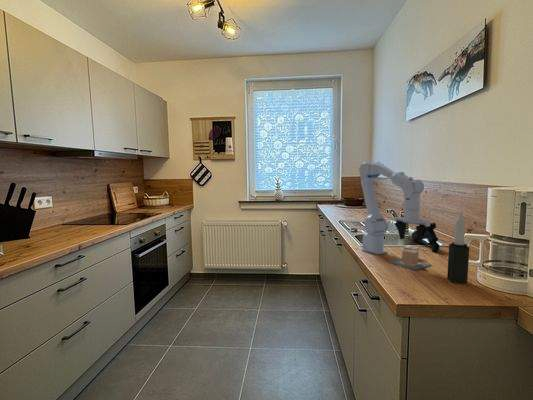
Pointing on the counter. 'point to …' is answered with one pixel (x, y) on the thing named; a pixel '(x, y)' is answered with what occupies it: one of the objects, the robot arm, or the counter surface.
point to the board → (414, 267)
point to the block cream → (411, 248)
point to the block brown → (410, 257)
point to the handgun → (429, 237)
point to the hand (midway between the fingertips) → (410, 240)
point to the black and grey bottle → (458, 254)
